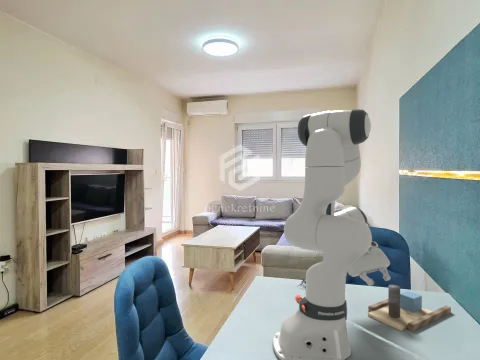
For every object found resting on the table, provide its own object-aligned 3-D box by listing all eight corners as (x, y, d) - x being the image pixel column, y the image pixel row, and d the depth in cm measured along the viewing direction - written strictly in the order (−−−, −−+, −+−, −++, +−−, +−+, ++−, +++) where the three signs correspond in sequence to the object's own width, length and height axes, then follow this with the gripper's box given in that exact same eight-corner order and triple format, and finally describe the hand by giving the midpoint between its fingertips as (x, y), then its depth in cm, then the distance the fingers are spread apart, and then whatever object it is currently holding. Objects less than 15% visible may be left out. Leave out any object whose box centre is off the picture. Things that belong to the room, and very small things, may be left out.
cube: (413, 312, 104) (413, 298, 103) (400, 307, 108) (400, 293, 108) (421, 309, 106) (421, 295, 106) (407, 304, 110) (407, 291, 110)
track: (413, 334, 94) (413, 325, 94) (368, 313, 107) (368, 306, 107) (450, 314, 106) (450, 307, 106) (406, 299, 120) (406, 292, 119)
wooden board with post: (401, 331, 94) (401, 296, 94) (367, 315, 104) (367, 284, 104) (434, 315, 104) (434, 284, 104) (401, 302, 114) (400, 274, 114)
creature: (294, 287, 136) (303, 290, 129) (293, 275, 137) (301, 277, 130) (310, 285, 139) (319, 287, 131) (308, 273, 140) (317, 275, 132)
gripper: (343, 248, 107) (367, 283, 99) (378, 241, 118) (402, 273, 109) (333, 257, 111) (355, 292, 103) (368, 250, 122) (391, 281, 113)
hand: (380, 282), depth 106 cm, fingers open, 8 cm apart
